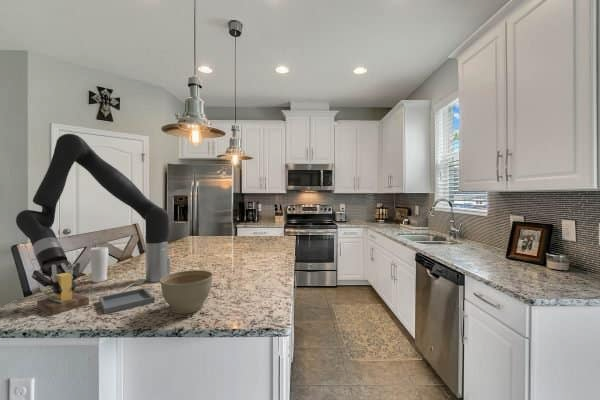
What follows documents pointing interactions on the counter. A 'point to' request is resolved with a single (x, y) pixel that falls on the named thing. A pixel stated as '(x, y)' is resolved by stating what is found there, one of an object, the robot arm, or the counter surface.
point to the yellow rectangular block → (64, 286)
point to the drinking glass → (99, 263)
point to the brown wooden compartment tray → (62, 304)
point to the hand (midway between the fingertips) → (66, 291)
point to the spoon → (133, 284)
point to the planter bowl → (186, 290)
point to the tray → (125, 300)
